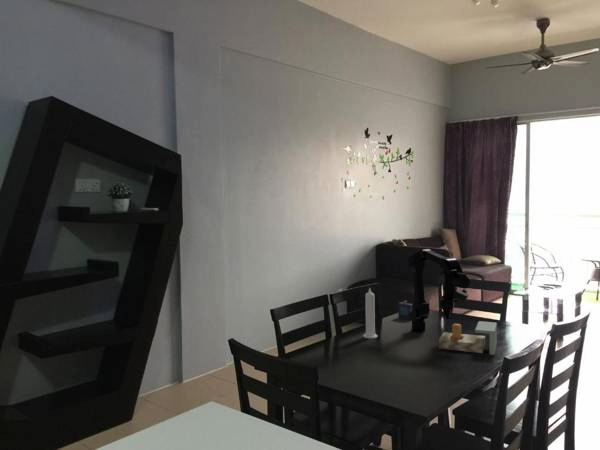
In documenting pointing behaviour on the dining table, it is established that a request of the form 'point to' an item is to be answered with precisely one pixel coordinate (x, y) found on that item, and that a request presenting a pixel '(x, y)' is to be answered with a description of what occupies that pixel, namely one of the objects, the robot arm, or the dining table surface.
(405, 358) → the dining table surface
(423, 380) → the dining table surface
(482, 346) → the socket block
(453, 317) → the dining table surface
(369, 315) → the candle
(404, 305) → the flask
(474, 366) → the dining table surface
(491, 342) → the upright pale grey block
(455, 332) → the peg
